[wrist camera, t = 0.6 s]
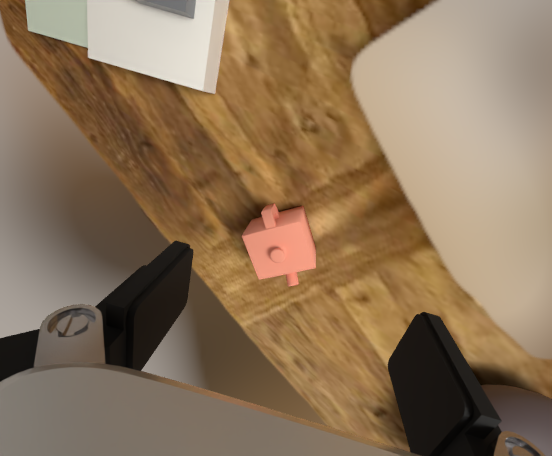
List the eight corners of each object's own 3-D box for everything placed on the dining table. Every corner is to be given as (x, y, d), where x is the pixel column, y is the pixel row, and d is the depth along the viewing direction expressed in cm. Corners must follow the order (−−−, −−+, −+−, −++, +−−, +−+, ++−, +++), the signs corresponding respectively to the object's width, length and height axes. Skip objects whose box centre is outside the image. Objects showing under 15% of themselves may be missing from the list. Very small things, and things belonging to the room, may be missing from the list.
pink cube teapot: (273, 272, 44) (264, 305, 36) (248, 203, 40) (232, 224, 32) (321, 262, 42) (322, 294, 34) (299, 189, 38) (295, 207, 30)
